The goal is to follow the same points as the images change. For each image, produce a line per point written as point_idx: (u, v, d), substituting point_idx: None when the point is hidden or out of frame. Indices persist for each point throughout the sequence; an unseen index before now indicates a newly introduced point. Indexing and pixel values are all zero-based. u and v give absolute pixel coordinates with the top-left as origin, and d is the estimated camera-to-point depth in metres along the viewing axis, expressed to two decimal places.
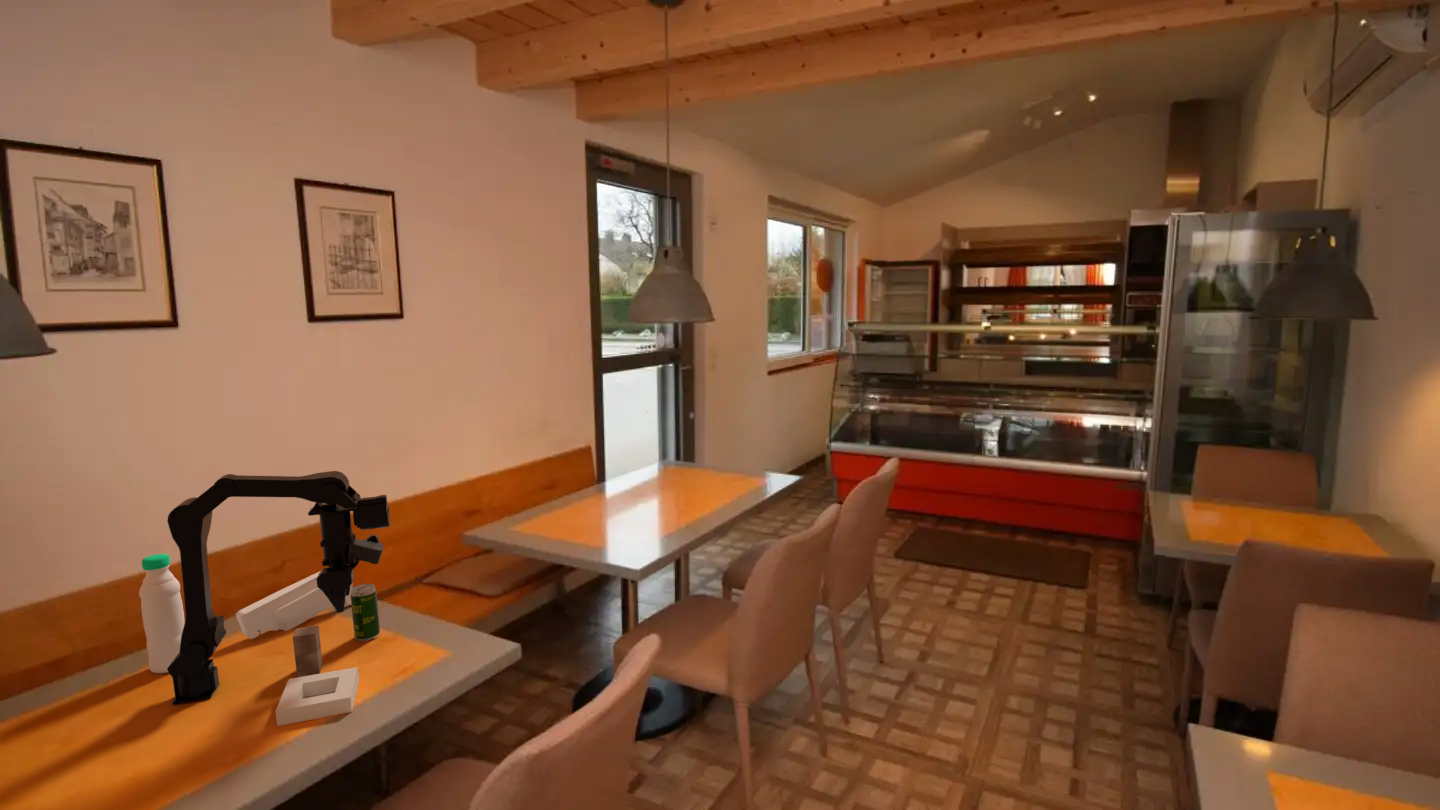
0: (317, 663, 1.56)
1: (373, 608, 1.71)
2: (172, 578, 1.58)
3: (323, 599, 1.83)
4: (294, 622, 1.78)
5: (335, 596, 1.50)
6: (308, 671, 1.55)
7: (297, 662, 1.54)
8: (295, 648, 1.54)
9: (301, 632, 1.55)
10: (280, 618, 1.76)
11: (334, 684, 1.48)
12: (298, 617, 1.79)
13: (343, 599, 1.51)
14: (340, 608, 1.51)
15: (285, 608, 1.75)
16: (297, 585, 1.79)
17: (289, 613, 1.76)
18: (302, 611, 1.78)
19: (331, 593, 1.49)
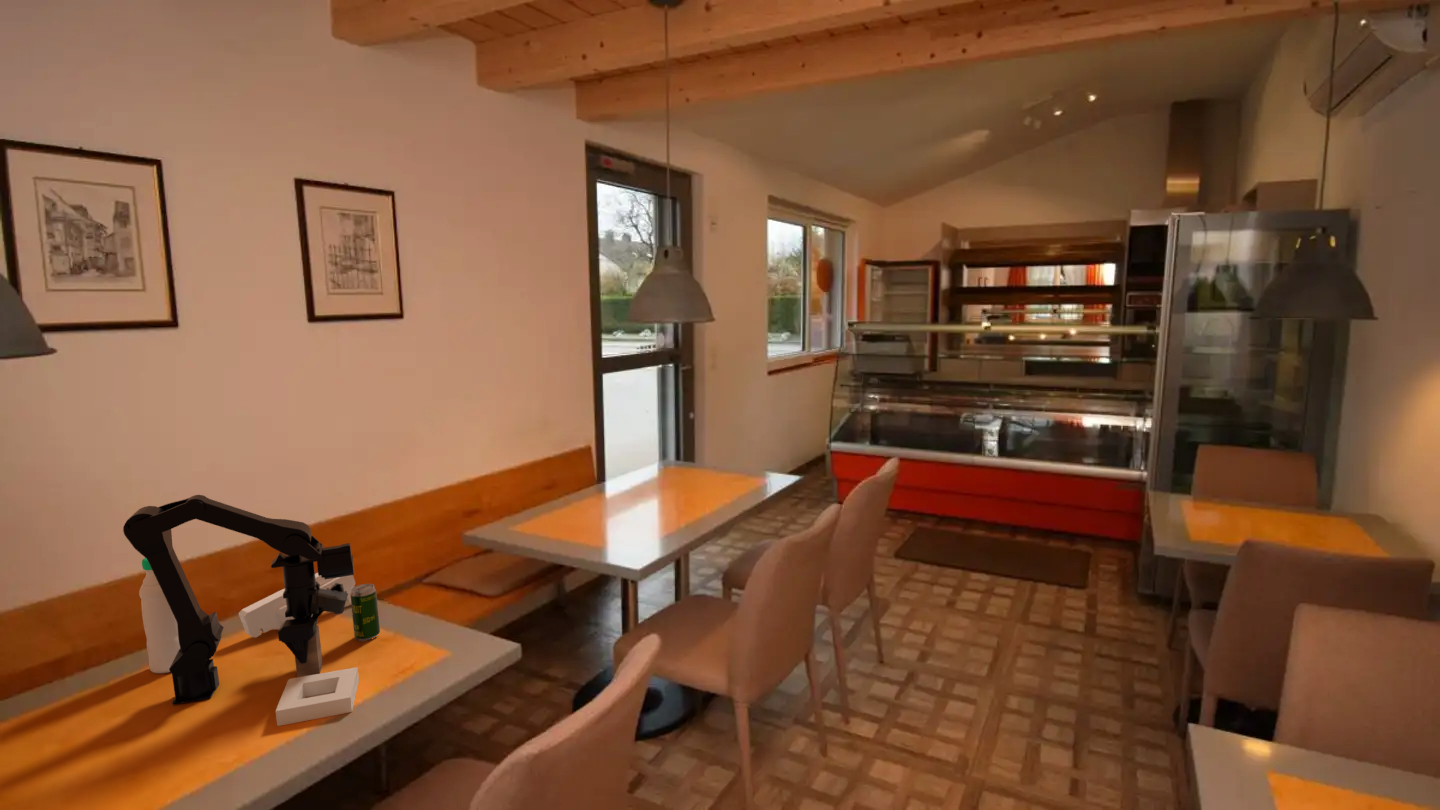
0: (317, 663, 1.56)
1: (373, 608, 1.71)
2: None
3: None
4: None
5: (298, 648, 1.50)
6: (308, 671, 1.55)
7: (297, 662, 1.54)
8: None
9: None
10: (283, 617, 1.76)
11: (334, 684, 1.48)
12: None
13: (306, 651, 1.51)
14: (303, 659, 1.52)
15: None
16: None
17: None
18: None
19: (293, 645, 1.50)
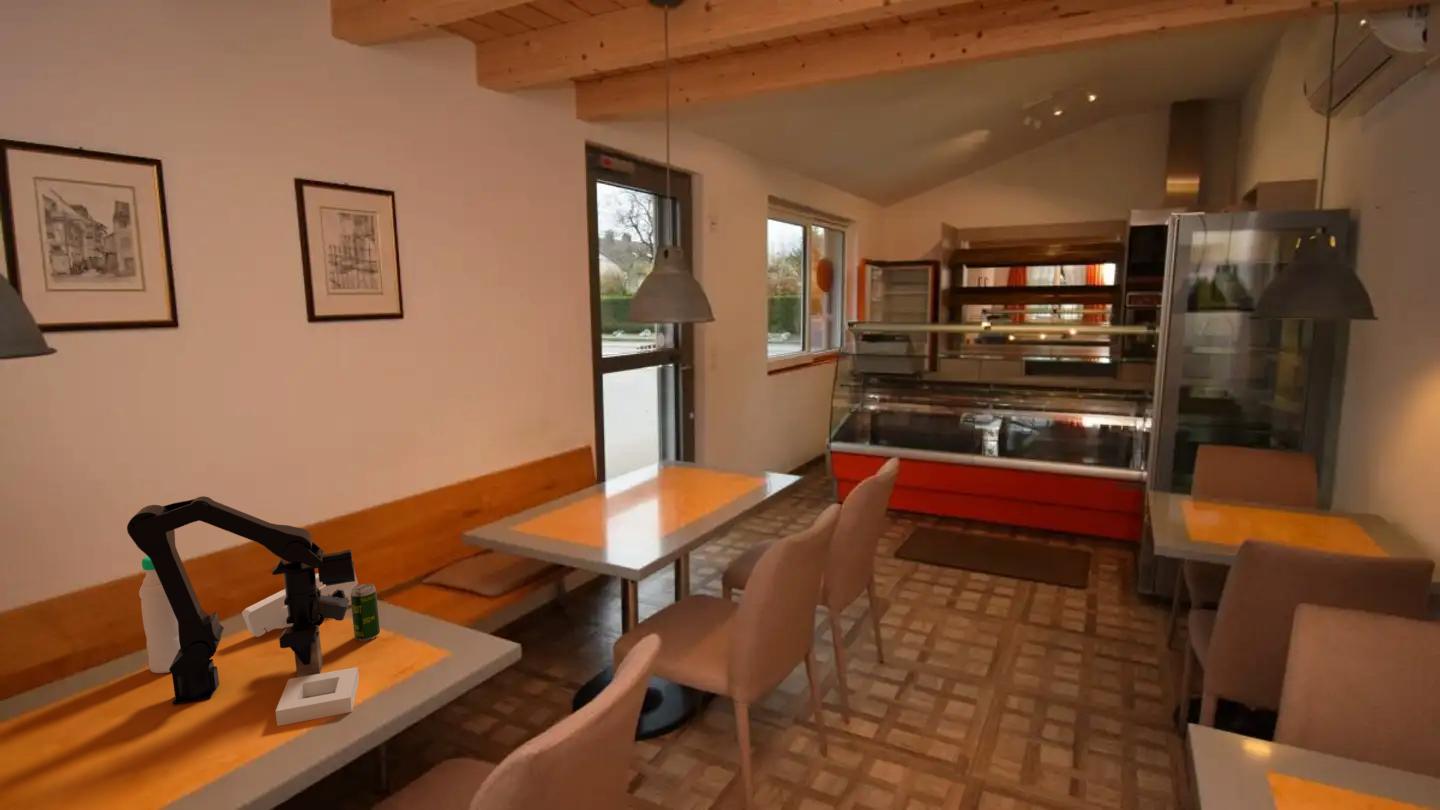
0: (317, 663, 1.56)
1: (373, 608, 1.71)
2: None
3: None
4: None
5: (301, 650, 1.53)
6: (308, 671, 1.55)
7: (297, 662, 1.54)
8: None
9: None
10: (286, 616, 1.77)
11: (334, 684, 1.48)
12: None
13: (309, 652, 1.54)
14: (306, 660, 1.54)
15: None
16: None
17: None
18: None
19: (297, 647, 1.52)
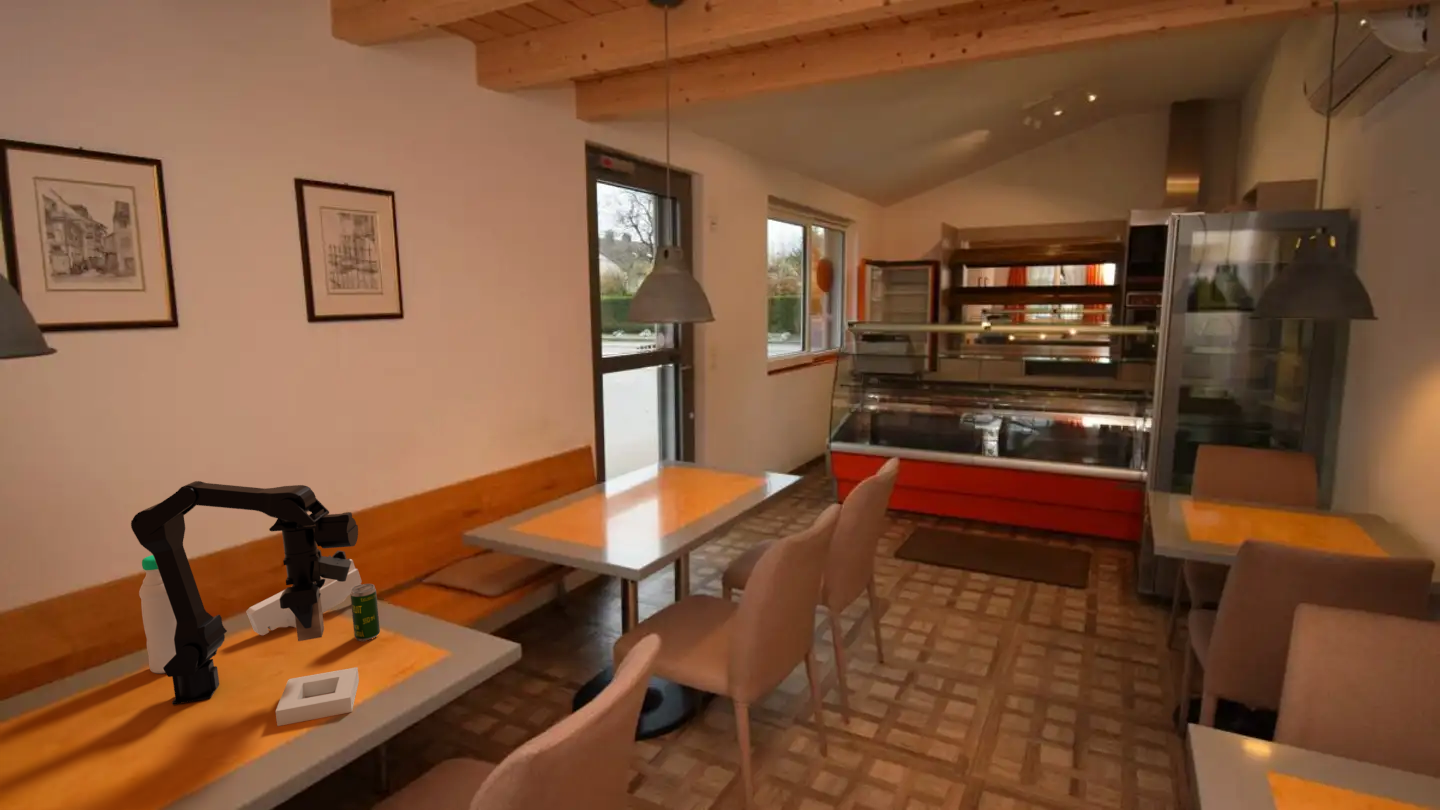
0: (319, 626, 1.48)
1: (373, 608, 1.71)
2: None
3: (332, 596, 1.84)
4: None
5: (302, 612, 1.46)
6: (309, 635, 1.48)
7: (297, 625, 1.47)
8: None
9: None
10: (290, 615, 1.77)
11: (334, 684, 1.48)
12: None
13: (310, 615, 1.47)
14: (307, 623, 1.47)
15: None
16: None
17: None
18: None
19: (297, 609, 1.45)
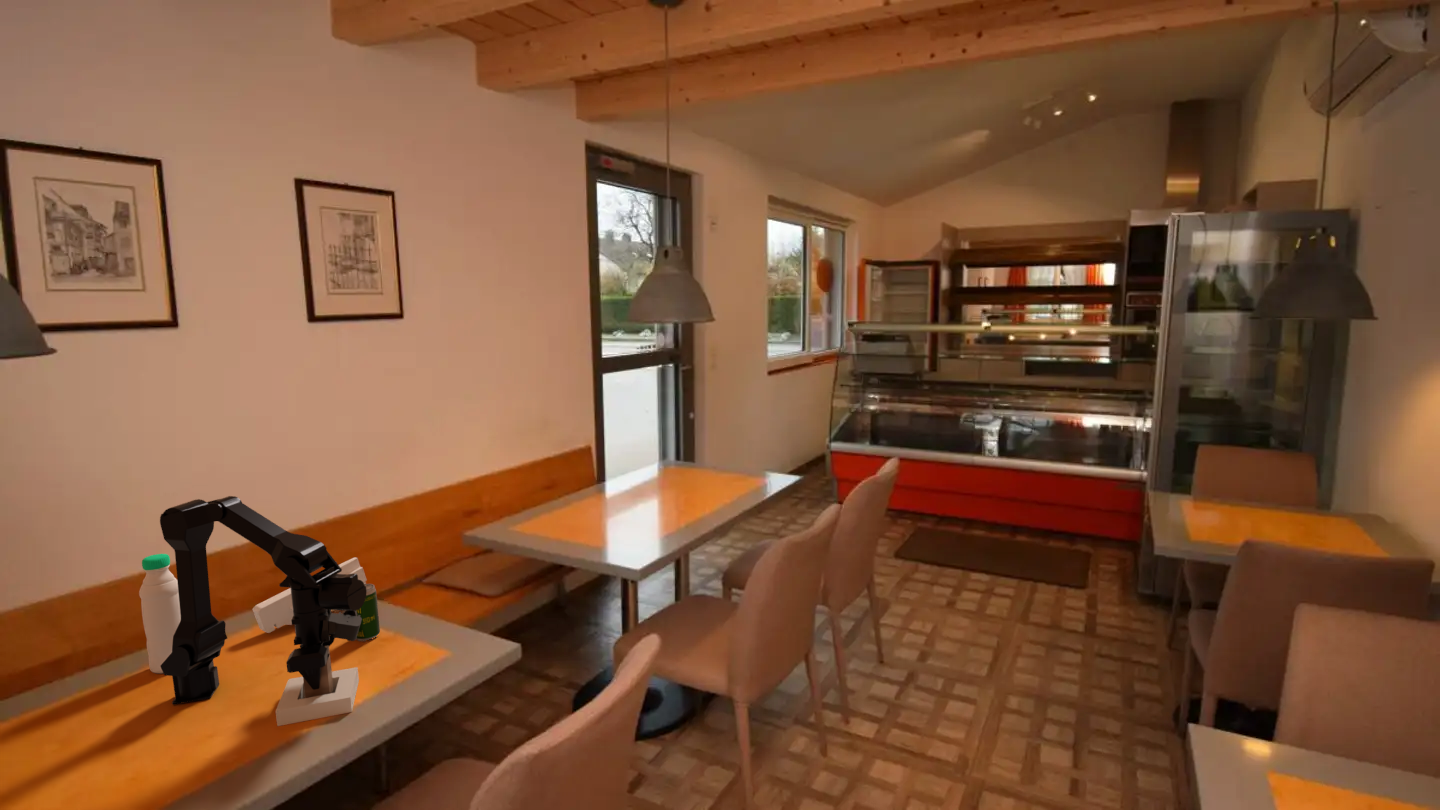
0: (328, 687, 1.43)
1: (373, 608, 1.71)
2: (172, 578, 1.58)
3: None
4: None
5: (310, 673, 1.40)
6: None
7: (306, 686, 1.41)
8: None
9: None
10: None
11: (334, 684, 1.48)
12: None
13: (318, 676, 1.41)
14: (315, 684, 1.41)
15: None
16: None
17: None
18: None
19: (305, 670, 1.40)
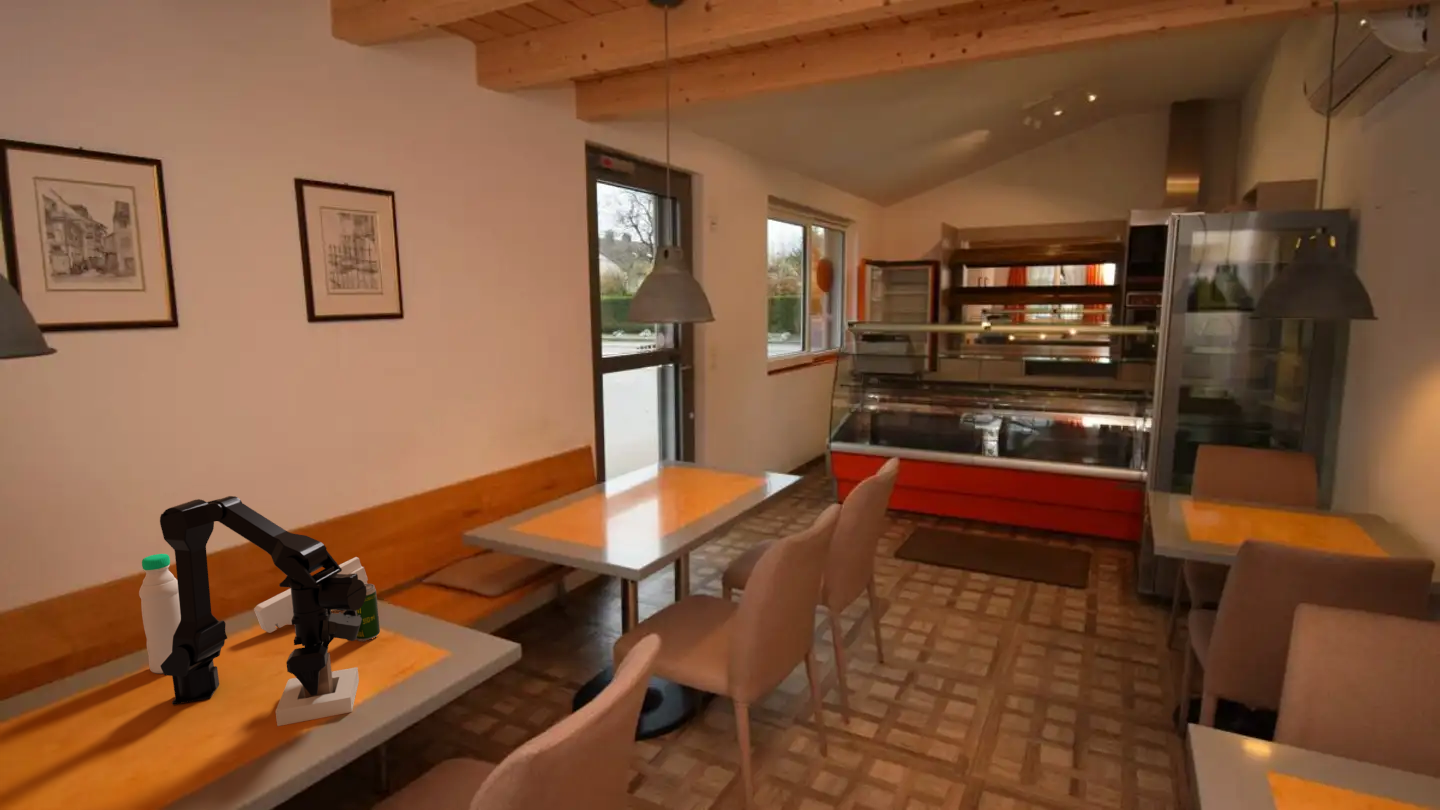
0: None
1: (373, 608, 1.71)
2: (172, 578, 1.58)
3: None
4: None
5: (308, 679, 1.38)
6: None
7: (306, 693, 1.42)
8: None
9: None
10: None
11: (334, 684, 1.48)
12: None
13: (316, 682, 1.39)
14: (313, 690, 1.39)
15: None
16: None
17: None
18: None
19: (303, 676, 1.37)
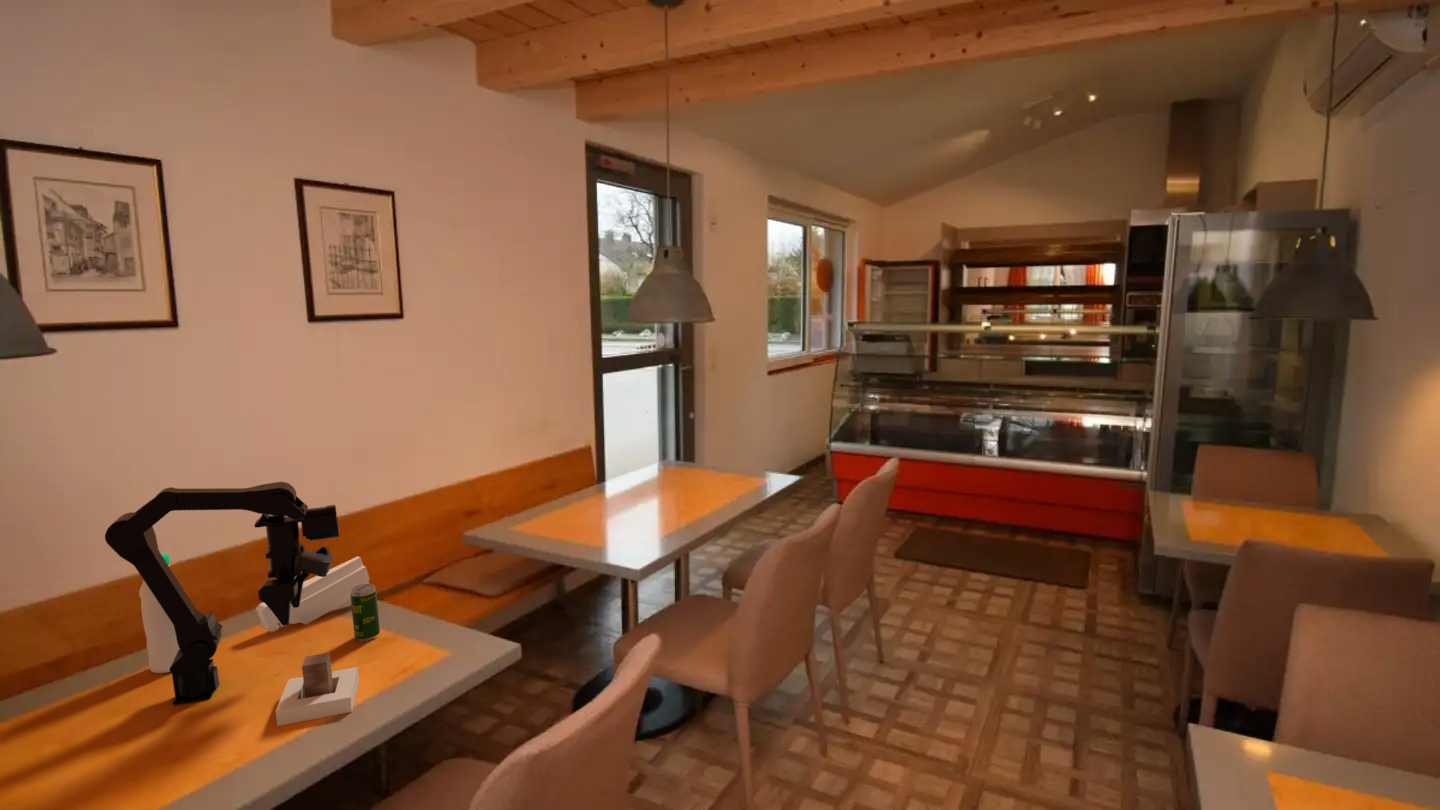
0: None
1: (373, 608, 1.71)
2: None
3: (340, 593, 1.86)
4: (312, 615, 1.81)
5: (279, 609, 1.48)
6: None
7: (306, 693, 1.42)
8: (304, 678, 1.41)
9: (311, 660, 1.43)
10: (299, 611, 1.79)
11: (334, 684, 1.48)
12: (316, 611, 1.82)
13: (287, 612, 1.49)
14: (285, 620, 1.49)
15: (304, 602, 1.79)
16: (315, 579, 1.83)
17: (308, 606, 1.79)
18: (320, 605, 1.82)
19: (275, 606, 1.48)
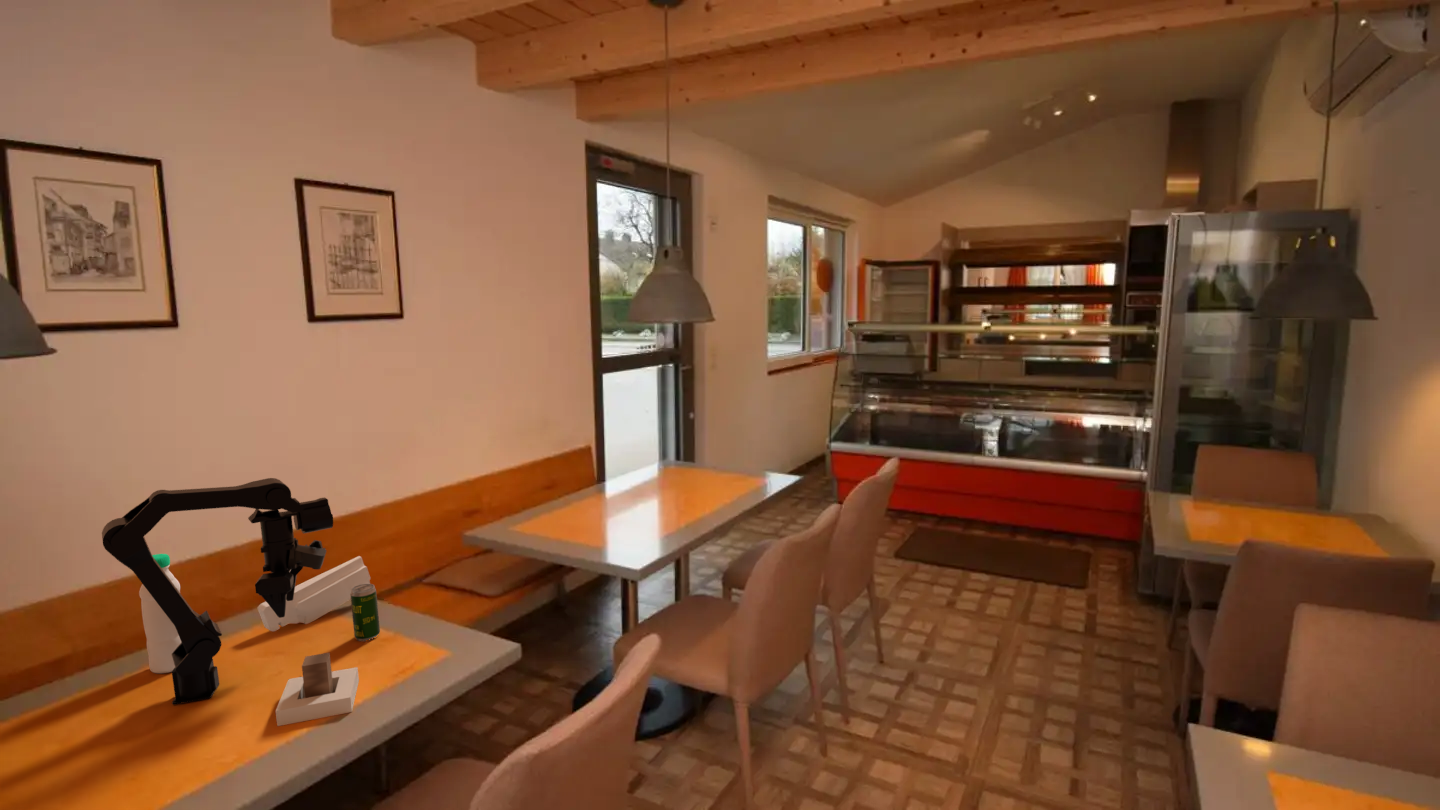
0: None
1: (373, 608, 1.71)
2: (172, 578, 1.58)
3: (341, 593, 1.86)
4: (313, 615, 1.82)
5: (275, 602, 1.52)
6: None
7: (306, 693, 1.42)
8: (304, 678, 1.41)
9: (311, 660, 1.43)
10: (300, 611, 1.79)
11: (334, 684, 1.48)
12: (317, 610, 1.82)
13: (283, 604, 1.52)
14: (281, 613, 1.53)
15: (305, 601, 1.79)
16: (316, 579, 1.83)
17: (309, 606, 1.80)
18: (321, 604, 1.82)
19: (271, 598, 1.51)
